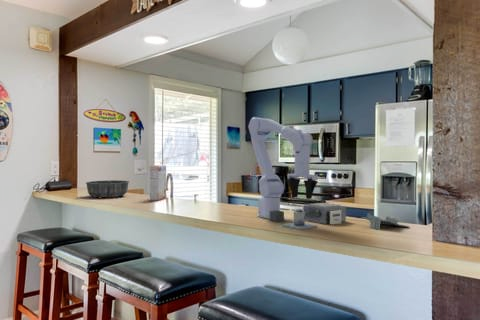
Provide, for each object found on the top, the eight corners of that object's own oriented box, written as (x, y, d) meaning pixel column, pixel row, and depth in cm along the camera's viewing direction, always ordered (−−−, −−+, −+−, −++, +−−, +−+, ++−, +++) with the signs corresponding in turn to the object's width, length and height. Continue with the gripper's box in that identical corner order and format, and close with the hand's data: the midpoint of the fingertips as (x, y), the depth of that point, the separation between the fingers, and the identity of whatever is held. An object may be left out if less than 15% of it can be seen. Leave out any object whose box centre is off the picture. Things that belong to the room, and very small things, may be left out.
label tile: (329, 224, 139) (329, 211, 139) (339, 223, 143) (340, 210, 143) (331, 224, 139) (331, 211, 139) (341, 223, 142) (341, 210, 142)
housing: (302, 220, 149) (302, 204, 149) (323, 217, 156) (323, 202, 156) (324, 224, 139) (324, 207, 139) (345, 221, 147) (345, 205, 147)
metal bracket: (395, 216, 126) (356, 211, 137) (393, 232, 125) (354, 226, 136) (411, 223, 136) (373, 218, 147) (409, 238, 134) (371, 232, 145)
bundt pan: (98, 200, 216) (98, 183, 216) (78, 196, 233) (78, 181, 233) (136, 197, 235) (137, 181, 235) (116, 194, 253) (116, 179, 253)
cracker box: (157, 198, 228) (157, 165, 228) (166, 198, 227) (166, 165, 227) (148, 200, 214) (149, 165, 214) (158, 200, 213) (158, 165, 213)
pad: (282, 225, 135) (282, 224, 135) (299, 223, 141) (299, 222, 141) (299, 229, 128) (299, 228, 128) (317, 227, 133) (317, 225, 133)
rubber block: (269, 221, 147) (269, 211, 147) (277, 220, 149) (277, 210, 149) (276, 222, 144) (276, 212, 144) (283, 221, 146) (283, 211, 146)
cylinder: (291, 224, 135) (291, 209, 135) (299, 223, 137) (299, 208, 137) (298, 226, 131) (298, 210, 131) (306, 225, 134) (307, 210, 134)
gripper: (282, 163, 145) (281, 196, 145) (308, 163, 134) (308, 200, 134) (294, 163, 150) (294, 195, 150) (321, 163, 138) (321, 199, 138)
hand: (301, 197), depth 142 cm, fingers open, 7 cm apart
